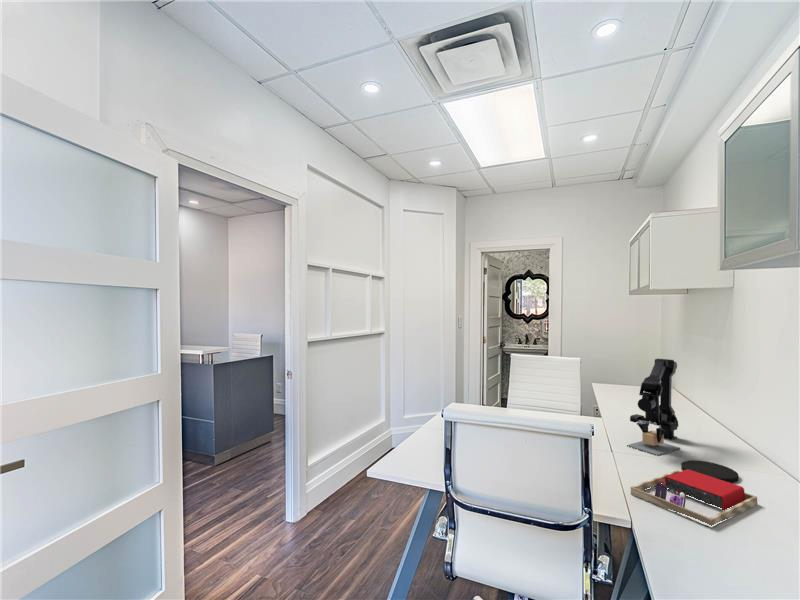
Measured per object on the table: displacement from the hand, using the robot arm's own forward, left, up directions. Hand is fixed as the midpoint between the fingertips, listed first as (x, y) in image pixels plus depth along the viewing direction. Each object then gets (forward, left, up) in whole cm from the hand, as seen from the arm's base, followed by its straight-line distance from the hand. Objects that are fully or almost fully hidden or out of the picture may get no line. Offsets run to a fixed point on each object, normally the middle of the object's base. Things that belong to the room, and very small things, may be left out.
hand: (653, 440), depth 183 cm
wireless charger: (+10, +27, -4) cm, 29 cm away
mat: (0, 0, -3) cm, 3 cm away
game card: (+51, +35, -4) cm, 61 cm away
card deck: (0, 0, -1) cm, 1 cm away
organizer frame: (+39, +35, -3) cm, 53 cm away
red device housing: (+32, +35, -4) cm, 48 cm away
